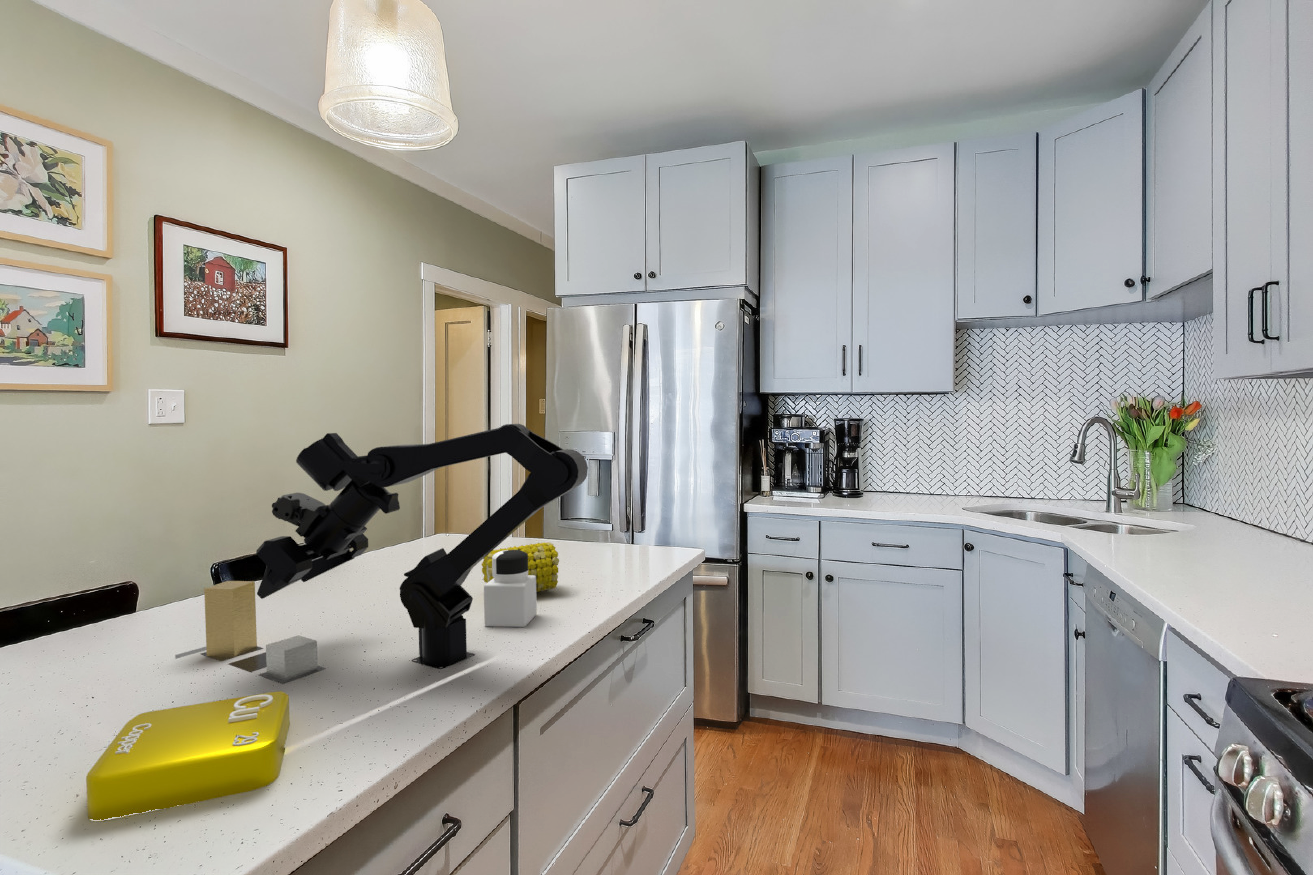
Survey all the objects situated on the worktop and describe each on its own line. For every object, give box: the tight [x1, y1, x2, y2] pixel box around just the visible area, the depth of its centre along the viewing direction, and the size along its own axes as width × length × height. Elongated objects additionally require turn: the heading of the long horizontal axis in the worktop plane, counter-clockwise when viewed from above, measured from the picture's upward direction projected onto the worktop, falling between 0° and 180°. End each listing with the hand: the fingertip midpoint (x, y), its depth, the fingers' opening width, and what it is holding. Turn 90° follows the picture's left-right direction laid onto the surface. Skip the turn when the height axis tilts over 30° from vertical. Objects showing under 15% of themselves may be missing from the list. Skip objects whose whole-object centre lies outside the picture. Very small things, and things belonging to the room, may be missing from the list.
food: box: [481, 541, 560, 593], centre depth 130 cm, size 15×12×10 cm
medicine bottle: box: [483, 550, 538, 628], centre depth 114 cm, size 7×7×12 cm
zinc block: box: [265, 635, 319, 681], centre depth 91 cm, size 4×4×4 cm
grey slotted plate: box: [174, 646, 327, 685], centre depth 95 cm, size 26×10×1 cm, turn 59°
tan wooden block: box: [203, 580, 258, 658], centre depth 99 cm, size 4×4×10 cm
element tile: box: [85, 690, 291, 820], centre depth 67 cm, size 15×15×5 cm
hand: (281, 587), depth 98 cm, fingers open, 9 cm apart
